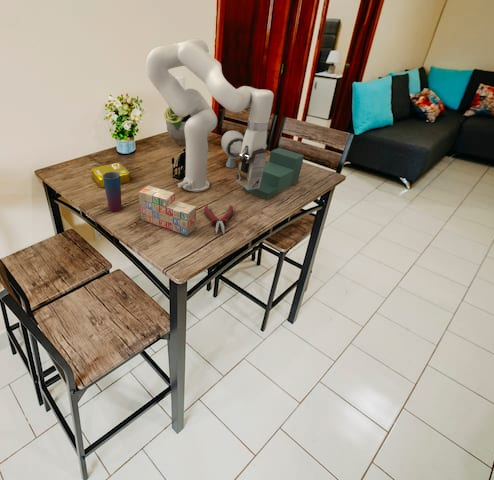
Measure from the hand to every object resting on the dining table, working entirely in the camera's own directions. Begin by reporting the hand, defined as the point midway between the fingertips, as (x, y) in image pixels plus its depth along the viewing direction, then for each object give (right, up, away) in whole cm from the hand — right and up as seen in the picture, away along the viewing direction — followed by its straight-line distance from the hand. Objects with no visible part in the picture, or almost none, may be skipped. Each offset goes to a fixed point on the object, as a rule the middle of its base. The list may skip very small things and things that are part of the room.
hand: (250, 168), depth 137 cm
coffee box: (0, -6, +4) cm, 7 cm away
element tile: (-61, 0, +25) cm, 66 cm away
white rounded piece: (-2, +8, +34) cm, 35 cm away
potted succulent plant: (-24, +29, +64) cm, 74 cm away
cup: (-55, -16, +1) cm, 58 cm away
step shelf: (+13, -4, +17) cm, 22 cm away
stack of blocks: (-34, -23, -8) cm, 42 cm away
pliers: (-15, -22, -7) cm, 28 cm away
